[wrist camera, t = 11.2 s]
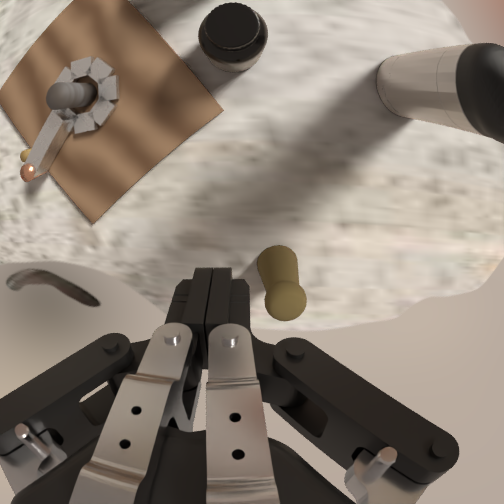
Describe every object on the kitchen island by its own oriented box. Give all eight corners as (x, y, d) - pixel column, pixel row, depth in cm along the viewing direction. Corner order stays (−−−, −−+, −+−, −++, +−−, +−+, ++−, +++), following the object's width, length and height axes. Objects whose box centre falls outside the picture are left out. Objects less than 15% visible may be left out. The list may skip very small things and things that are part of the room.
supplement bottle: (202, 29, 30) (187, 1, 19) (257, 20, 29) (264, -12, 19) (211, 77, 33) (199, 66, 22) (266, 68, 32) (278, 53, 22)
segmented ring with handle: (84, 45, 27) (67, 41, 23) (134, 84, 31) (121, 82, 27) (20, 153, 33) (2, 159, 29) (62, 191, 36) (46, 202, 33)
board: (105, -22, 24) (77, -43, 16) (223, 110, 35) (219, 112, 27) (1, 96, 30) (-36, 102, 22) (97, 220, 41) (69, 247, 33)
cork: (300, 275, 46) (315, 322, 37) (262, 284, 47) (268, 333, 37) (293, 240, 44) (308, 283, 34) (252, 250, 44) (256, 295, 34)
